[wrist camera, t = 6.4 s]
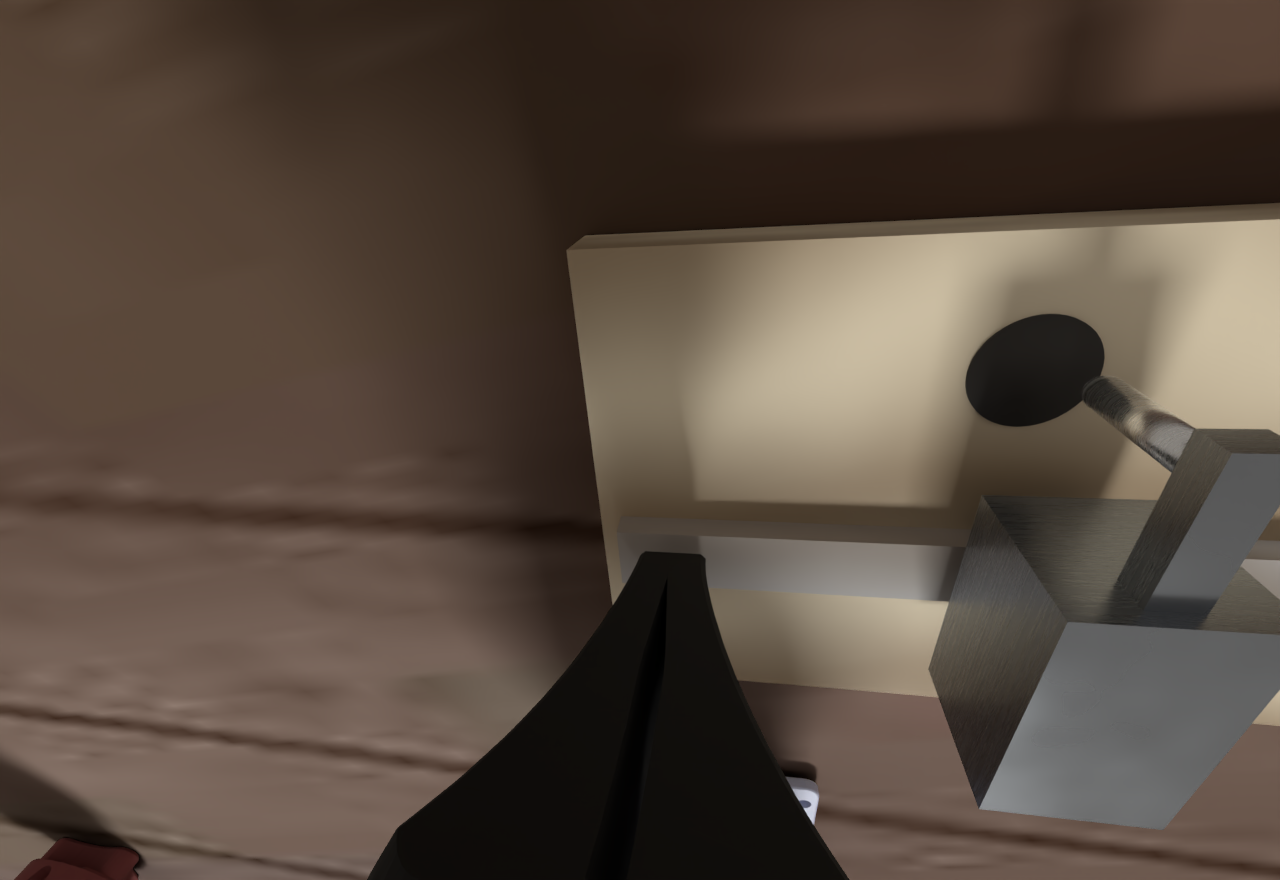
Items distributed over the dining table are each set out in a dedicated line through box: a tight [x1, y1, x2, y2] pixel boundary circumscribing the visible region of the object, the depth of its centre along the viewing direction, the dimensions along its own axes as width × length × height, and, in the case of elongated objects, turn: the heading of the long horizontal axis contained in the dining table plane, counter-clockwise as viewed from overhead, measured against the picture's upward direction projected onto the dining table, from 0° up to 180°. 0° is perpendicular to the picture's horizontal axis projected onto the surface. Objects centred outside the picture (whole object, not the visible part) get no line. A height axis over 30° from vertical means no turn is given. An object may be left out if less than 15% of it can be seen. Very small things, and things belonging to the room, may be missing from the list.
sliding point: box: [928, 375, 1280, 830], centre depth 9 cm, size 8×3×4 cm, turn 4°
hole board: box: [566, 203, 1280, 726], centre depth 10 cm, size 12×23×5 cm, turn 94°
